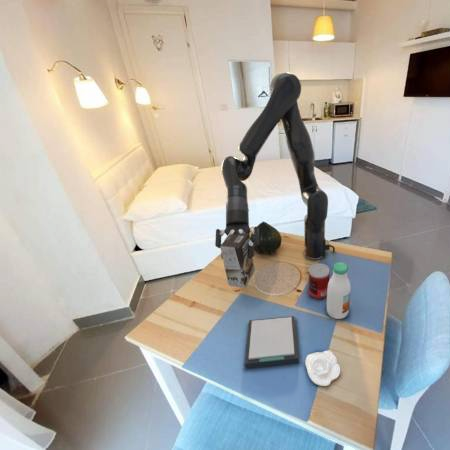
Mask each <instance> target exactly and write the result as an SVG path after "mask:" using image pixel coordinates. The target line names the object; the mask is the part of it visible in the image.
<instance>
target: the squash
mask: <svg viewBox="0 0 450 450" xmlns="http://www.w3.org/2000/svg"><path fill="white" fill-rule="evenodd" d="M256 227H258V230H259V242H260V244H259V245H257V246H255V247H254V253H255V252H256V253H259V254H267V253H268V254H272V255H273V254H275V253H276V251H278V250H279V249H280V247H281V245H282V235H281V233H280V231H279V230H278V229H276V228H275V227H274V226H272V225H271V224H269V223H268V222H266V221H261V222H260V223H259V224H258V225H256ZM250 240H251V241H252V242H255V234H253V233H252V232H251V234H250Z"/></svg>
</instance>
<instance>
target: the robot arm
mask: <svg viewBox="0 0 450 450" xmlns="http://www.w3.org/2000/svg"><path fill="white" fill-rule="evenodd" d="M269 92H270V96H269V98H268V101H267V103H266V105H265V106H264V108H263V109H262V111H261V112H260V114H259V116H257V118H256V119H255V121H253V123H252V124H251V125H250V127H249V128H248V130H247V131H246V132H245V134H244V136H243V138H242V140H241V141H240V142H239V144H238V147H237V148H238V151H239V152H240V153H241V154H242V155H243V159H242V160H241V159H239V158H238V157H235V156H233V155H229V156H226V157H225V158H223V160H222V162H221V175H222V178H223V181H224V185H225V188H226V201H225V228H224V229H220V228H216V229H215V243H214V246H215V247H216V248H217V249H221V247H220V245H221V244H222V237H223V236H224V234H225V235H226V237H225V239H224V241H225V240H226V239H227V237H228V236H229V235H233V234H235V233H240V234H243V233H244V232H245V233H251V234H252V233H253V234H255V242H252V241H251V240H250V239H249V238H248V239H249V242H248V244H249V245H250V247H249V258H250V259H252V257H253V258H254V257H255V251H254V247H255V246H257V245H259V244H260V242H259V230H258V227H257V226H254V227H250V215H249V212H250V209H249V201H248V187H247V185H246V184H245V183H244V181H247V180H248V179H249V178H250V177H251V176H252V173H253V170H254V167H255V163H256V160H257V157H258V155H259V153H260V152H261V150H262V149H263V147H264V146H265V144H266V142H267V141H268V139H269V137H271V134H272V132H273V131H274V129H275V128H276V127H277V125H278V124H279V122H280V121H281V125H282V130H283V135H284V139H285V142H286V147H287V150H288V153H289V156H290V160H291V163H292V166H293V169H294V171H295V174H296V177H297V180H298V183H299V184H298V185H299V190H300V195H301V197H300V198H301V199H302V202H303V203H304V205H305V206H306V214H305V216H304V219H303V220H304V221H303V224H304V225H303V226H304V229H303V230H304V232H303V233H304V245H303V247H304V256H305V258H307V259H308V260H312V261H316V260H317V261H319V260H321V259H323V258H326V251H330V250H331V249H330V248H332V252H333V253H335V251H336V248H335V247H334V245H332V244H331V243H330V241H329V239H326V220H327V217H328V212H329V211H328V209H329V197H328V195H327V193H326V192H325V191H324V190H322V188H320V186H319V185H318V181H317V178H316V175H315V164H316V163H315V162H316V155H315V151H314V146H313V142H312V138H311V135H310V132H309V131H308V129H307V126H306V124H305V123H304V119H303V118H302V116H301V112H300V108H299V103H298V100H299V98H300V97H301V93H302V83H301V81H300V78H299V77H298V76H297V75H295V74H294V73H291V72H282V73H277V74H276V75H274V76H273V78H272V79H271V81H270V86H269ZM224 241H223V242H224ZM220 257H221V259H222V260H223V257H222V252H221V251H220Z"/></svg>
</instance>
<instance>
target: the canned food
mask: <svg viewBox="0 0 450 450" xmlns="http://www.w3.org/2000/svg"><path fill="white" fill-rule="evenodd" d="M330 276H331V270H330V266H328V265H326V264H325V263H314V264H312V265H311V266H309V268H308V292H309V295H310V296H311V298H313V299H316V300H322V299H324V298H327V289H328V283H329V280H330V278H331V277H330Z"/></svg>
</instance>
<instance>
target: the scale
mask: <svg viewBox="0 0 450 450" xmlns="http://www.w3.org/2000/svg"><path fill="white" fill-rule="evenodd" d="M295 319H296V318H295V316H294V315H292V316H281V317H280V316H279V317H271V318H260V319H259V318H258V319H250V320H249V321H248V330H247V338H246V339H247V340H246V342H247V343H246V351H245V360H244V361H245V362H244V365H245V369H246V370H248V369H249V370H250V369H257V368H267V367H276V366H283V365H293V364H299V351H298V341H297V330H296V329H297V328H296V320H295Z"/></svg>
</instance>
